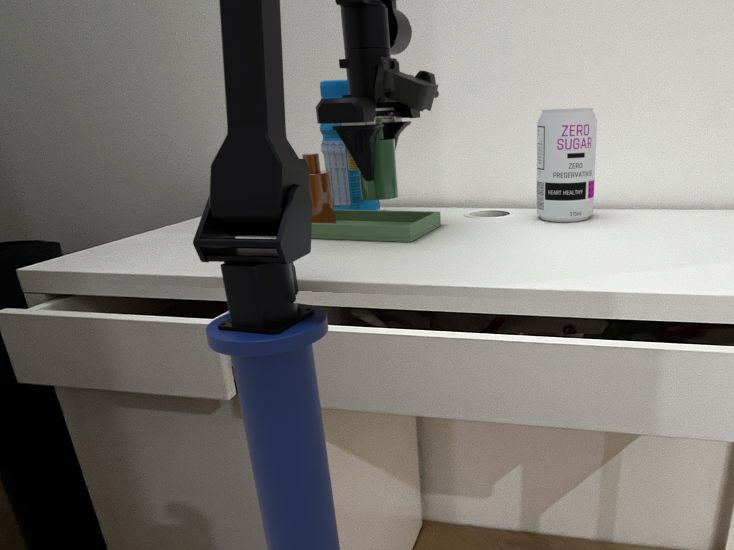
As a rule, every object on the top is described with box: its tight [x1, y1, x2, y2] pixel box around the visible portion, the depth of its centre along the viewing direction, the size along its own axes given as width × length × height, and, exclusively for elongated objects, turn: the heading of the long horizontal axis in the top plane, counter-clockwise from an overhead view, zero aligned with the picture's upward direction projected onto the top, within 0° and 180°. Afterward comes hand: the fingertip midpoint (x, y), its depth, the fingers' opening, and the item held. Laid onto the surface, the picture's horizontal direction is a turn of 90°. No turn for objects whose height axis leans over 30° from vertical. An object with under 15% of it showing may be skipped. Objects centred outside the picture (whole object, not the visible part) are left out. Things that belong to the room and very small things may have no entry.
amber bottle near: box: [301, 152, 337, 224], centre depth 87 cm, size 5×5×10 cm
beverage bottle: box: [319, 79, 381, 210], centre depth 97 cm, size 8×8×20 cm
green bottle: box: [359, 119, 400, 201], centre depth 83 cm, size 5×5×10 cm
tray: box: [311, 209, 442, 243], centre depth 89 cm, size 11×31×2 cm, turn 72°
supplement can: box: [536, 107, 598, 223], centre depth 89 cm, size 8×8×15 cm
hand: (378, 178), depth 84 cm, fingers closed on green bottle, 5 cm apart
